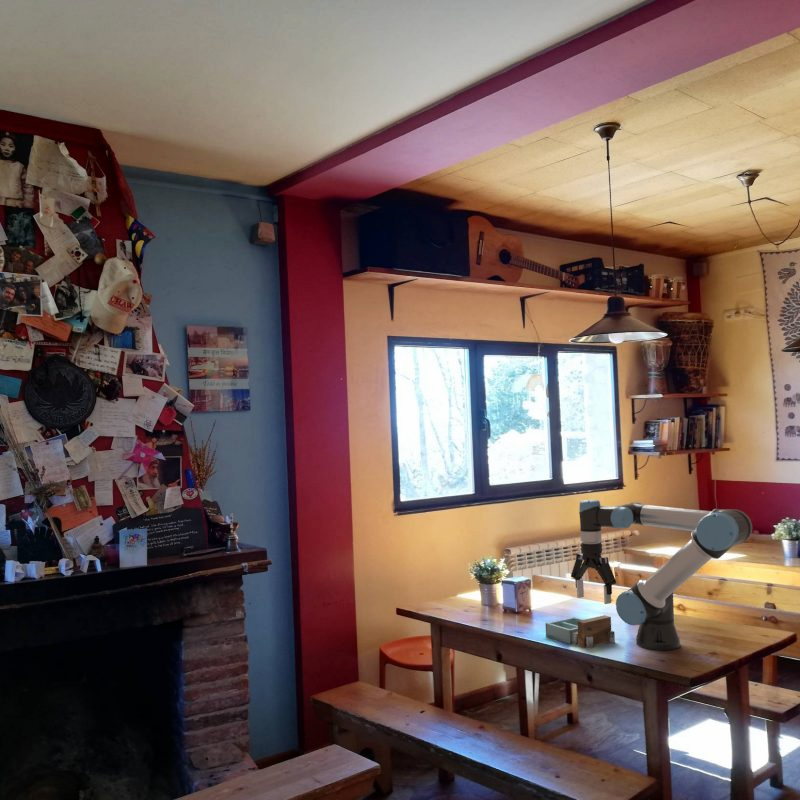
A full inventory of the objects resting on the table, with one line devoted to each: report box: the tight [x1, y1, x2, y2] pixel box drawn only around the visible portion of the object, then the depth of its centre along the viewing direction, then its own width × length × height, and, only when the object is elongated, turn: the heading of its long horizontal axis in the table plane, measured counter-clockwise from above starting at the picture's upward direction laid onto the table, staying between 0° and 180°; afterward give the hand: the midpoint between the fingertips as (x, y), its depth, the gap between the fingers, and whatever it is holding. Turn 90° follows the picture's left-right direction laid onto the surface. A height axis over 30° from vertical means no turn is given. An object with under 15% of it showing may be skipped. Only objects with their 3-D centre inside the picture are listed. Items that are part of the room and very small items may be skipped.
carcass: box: [545, 616, 584, 645], centre depth 300 cm, size 13×15×5 cm
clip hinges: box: [571, 630, 616, 650], centre depth 291 cm, size 8×13×4 cm, turn 122°
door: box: [577, 614, 612, 649], centre depth 290 cm, size 4×14×9 cm, turn 122°
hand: (593, 600), depth 291 cm, fingers open, 13 cm apart
